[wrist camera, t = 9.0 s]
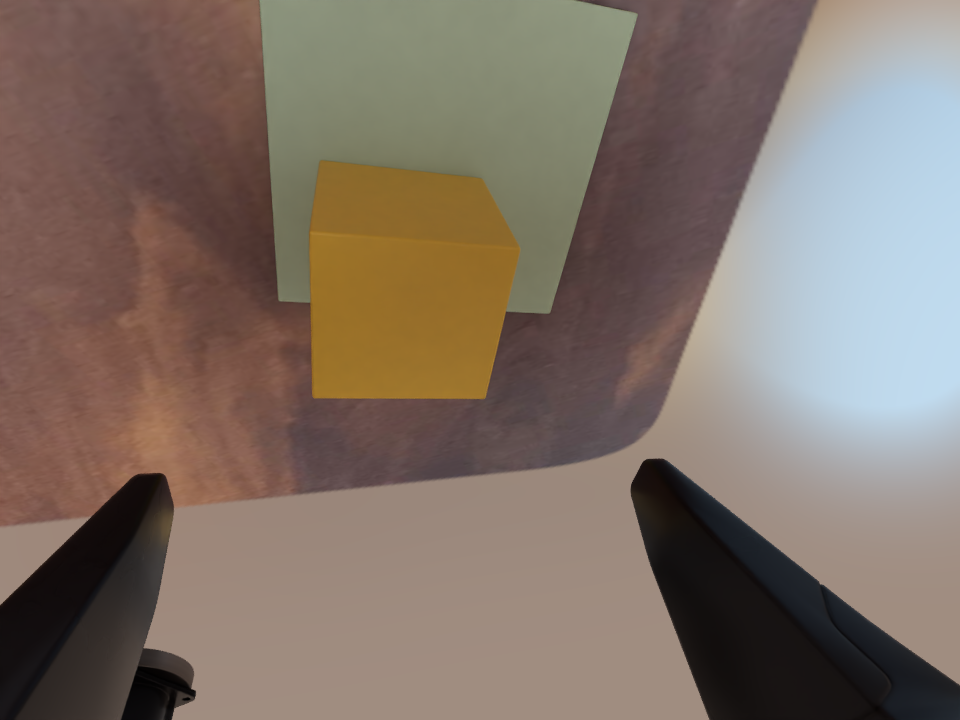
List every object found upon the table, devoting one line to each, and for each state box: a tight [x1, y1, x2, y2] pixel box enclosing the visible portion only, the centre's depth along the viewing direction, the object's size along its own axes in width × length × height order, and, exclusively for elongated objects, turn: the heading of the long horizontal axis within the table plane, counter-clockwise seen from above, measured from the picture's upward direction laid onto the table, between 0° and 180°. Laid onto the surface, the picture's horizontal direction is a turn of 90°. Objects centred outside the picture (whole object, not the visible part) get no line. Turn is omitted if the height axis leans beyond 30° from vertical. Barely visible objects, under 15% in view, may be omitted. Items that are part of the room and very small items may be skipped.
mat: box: [259, 0, 638, 314], centre depth 17 cm, size 10×10×1 cm
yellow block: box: [309, 160, 521, 399], centre depth 16 cm, size 5×5×5 cm
